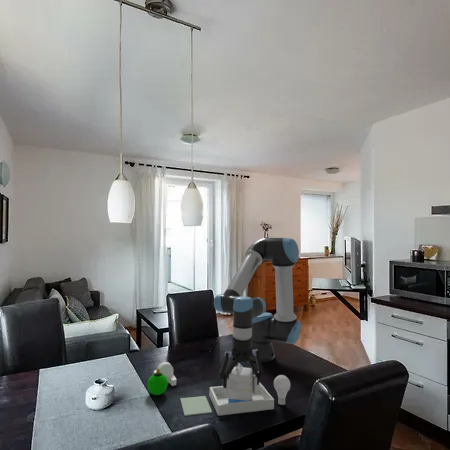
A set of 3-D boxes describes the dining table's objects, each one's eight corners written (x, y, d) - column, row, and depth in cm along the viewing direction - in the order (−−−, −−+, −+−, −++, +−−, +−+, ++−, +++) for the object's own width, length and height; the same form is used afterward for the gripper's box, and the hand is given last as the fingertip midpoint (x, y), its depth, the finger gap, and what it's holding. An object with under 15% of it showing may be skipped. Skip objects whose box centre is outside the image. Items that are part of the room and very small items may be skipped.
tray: (259, 390, 136) (259, 382, 137) (273, 408, 122) (274, 399, 122) (209, 396, 131) (209, 387, 131) (218, 415, 117) (218, 405, 117)
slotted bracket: (153, 376, 148) (153, 358, 148) (167, 373, 151) (168, 356, 152) (160, 388, 137) (161, 369, 137) (176, 385, 140) (177, 367, 140)
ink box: (250, 408, 122) (250, 372, 122) (227, 405, 123) (228, 369, 124) (252, 397, 130) (253, 363, 130) (231, 394, 132) (232, 361, 132)
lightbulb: (271, 400, 128) (272, 372, 129) (287, 400, 129) (287, 372, 129) (275, 409, 122) (276, 379, 123) (292, 408, 123) (292, 379, 123)
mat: (205, 396, 130) (205, 395, 130) (212, 412, 118) (212, 411, 119) (180, 399, 127) (180, 398, 127) (184, 415, 116) (184, 414, 116)
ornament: (148, 389, 135) (149, 365, 135) (168, 389, 135) (169, 365, 136) (145, 399, 127) (146, 373, 127) (166, 399, 127) (167, 373, 128)
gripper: (266, 332, 134) (264, 387, 133) (211, 335, 128) (209, 392, 127) (273, 338, 127) (272, 396, 126) (215, 341, 121) (213, 402, 120)
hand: (240, 394), depth 127 cm, fingers closed on ink box, 11 cm apart
